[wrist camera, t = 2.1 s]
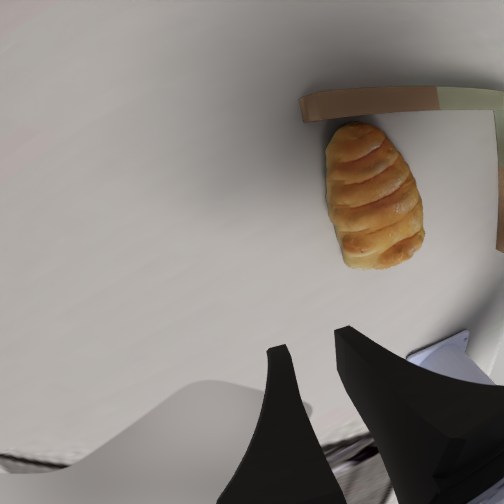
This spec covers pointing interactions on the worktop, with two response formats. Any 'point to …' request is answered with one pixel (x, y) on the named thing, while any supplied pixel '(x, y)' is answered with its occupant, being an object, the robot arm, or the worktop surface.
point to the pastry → (372, 198)
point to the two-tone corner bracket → (412, 100)
